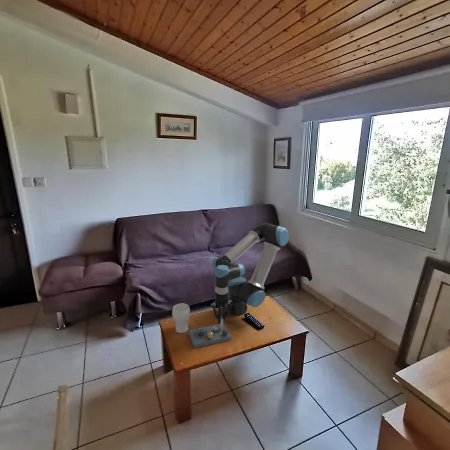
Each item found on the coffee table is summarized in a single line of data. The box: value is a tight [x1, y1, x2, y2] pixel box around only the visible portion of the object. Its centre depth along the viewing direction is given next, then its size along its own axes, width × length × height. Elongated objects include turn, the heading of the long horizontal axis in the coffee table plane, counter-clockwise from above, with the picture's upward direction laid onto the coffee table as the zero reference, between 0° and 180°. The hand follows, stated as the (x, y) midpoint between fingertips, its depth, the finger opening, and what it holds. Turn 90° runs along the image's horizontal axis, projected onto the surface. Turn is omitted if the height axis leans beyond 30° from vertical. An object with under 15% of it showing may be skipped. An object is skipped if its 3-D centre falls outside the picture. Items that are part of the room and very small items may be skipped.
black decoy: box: [222, 329, 229, 336], centre depth 161 cm, size 3×3×3 cm
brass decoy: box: [207, 331, 214, 339], centre depth 158 cm, size 4×4×4 cm
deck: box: [188, 322, 232, 349], centre depth 163 cm, size 22×13×2 cm, turn 110°
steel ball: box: [212, 324, 218, 331], centre depth 165 cm, size 3×3×3 cm
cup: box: [171, 302, 191, 334], centre depth 168 cm, size 11×11×15 cm
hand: (221, 327), depth 166 cm, fingers closed
